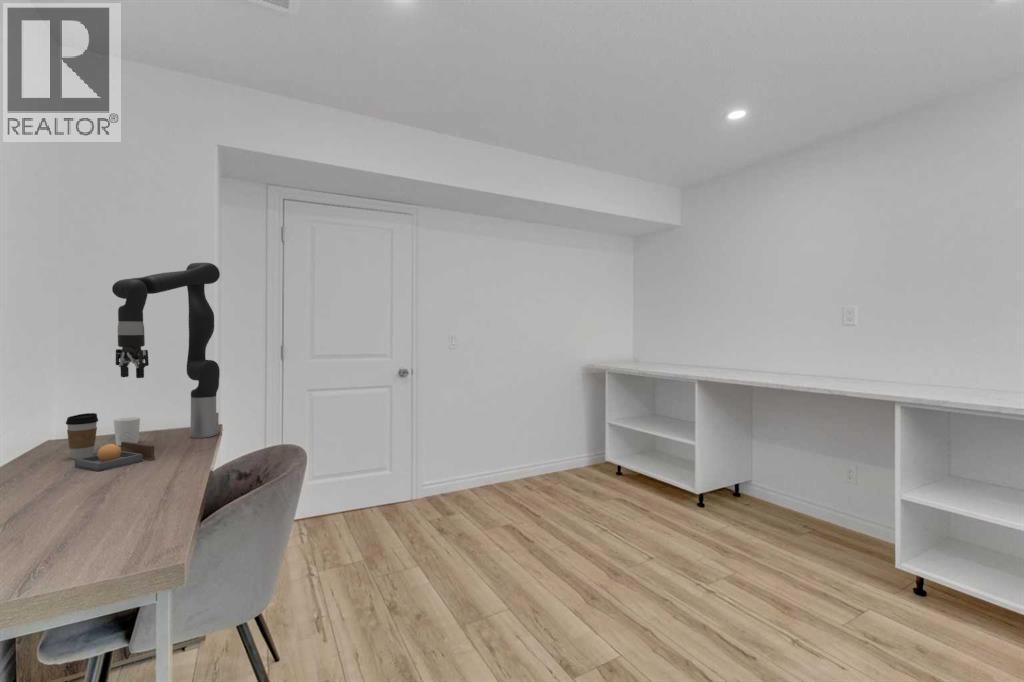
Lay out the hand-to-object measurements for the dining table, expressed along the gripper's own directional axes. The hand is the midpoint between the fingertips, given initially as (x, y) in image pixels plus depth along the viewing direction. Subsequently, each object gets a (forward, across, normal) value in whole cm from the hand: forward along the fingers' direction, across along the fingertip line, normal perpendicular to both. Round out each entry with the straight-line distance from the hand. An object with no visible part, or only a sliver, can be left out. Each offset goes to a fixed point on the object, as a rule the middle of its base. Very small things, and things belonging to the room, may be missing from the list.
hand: (132, 377), depth 165 cm
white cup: (+29, +17, -8) cm, 34 cm away
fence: (+28, -9, +4) cm, 30 cm away
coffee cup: (+28, +10, +10) cm, 32 cm away
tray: (+28, -9, +13) cm, 32 cm away
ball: (+27, -9, +13) cm, 31 cm away
